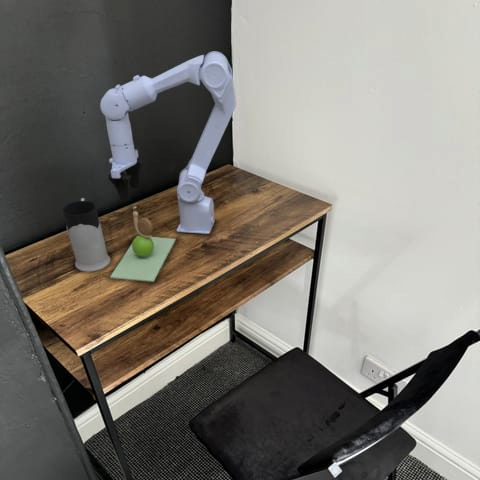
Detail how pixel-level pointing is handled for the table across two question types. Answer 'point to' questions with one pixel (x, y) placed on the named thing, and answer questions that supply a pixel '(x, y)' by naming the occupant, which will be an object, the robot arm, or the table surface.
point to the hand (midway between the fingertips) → (130, 193)
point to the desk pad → (144, 262)
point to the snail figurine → (142, 236)
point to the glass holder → (86, 235)
